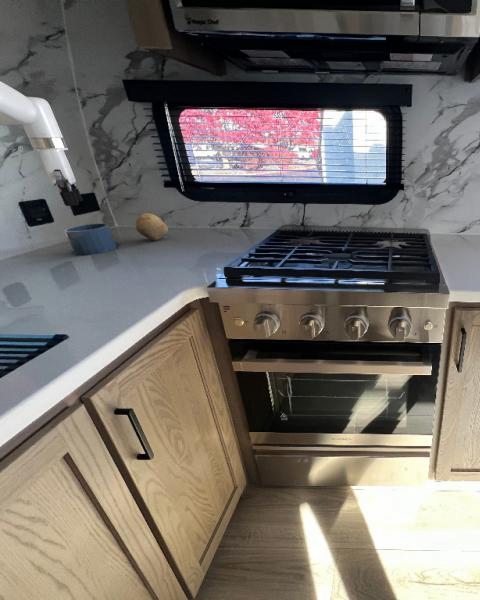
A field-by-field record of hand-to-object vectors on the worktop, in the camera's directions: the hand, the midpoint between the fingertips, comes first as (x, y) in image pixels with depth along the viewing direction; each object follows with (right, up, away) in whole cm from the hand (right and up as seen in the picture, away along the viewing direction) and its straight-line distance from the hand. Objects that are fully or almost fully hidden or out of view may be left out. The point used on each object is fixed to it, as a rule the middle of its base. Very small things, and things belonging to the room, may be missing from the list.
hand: (74, 203), depth 107 cm
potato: (+13, -9, +18) cm, 24 cm away
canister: (0, -14, +7) cm, 16 cm away
